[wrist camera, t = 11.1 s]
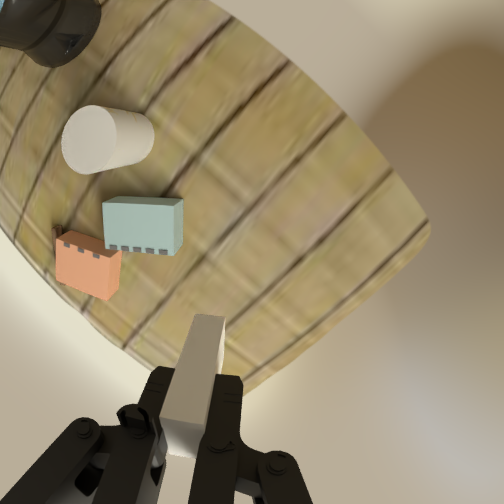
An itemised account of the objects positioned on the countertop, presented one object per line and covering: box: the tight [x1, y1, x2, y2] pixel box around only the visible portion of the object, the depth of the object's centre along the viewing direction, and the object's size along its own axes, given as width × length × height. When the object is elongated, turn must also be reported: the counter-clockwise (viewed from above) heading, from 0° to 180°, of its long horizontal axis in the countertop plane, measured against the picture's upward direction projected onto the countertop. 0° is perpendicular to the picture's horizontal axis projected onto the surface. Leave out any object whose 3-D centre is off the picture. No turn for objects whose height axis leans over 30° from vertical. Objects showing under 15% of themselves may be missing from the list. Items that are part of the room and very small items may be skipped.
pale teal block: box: [102, 196, 183, 256], centre depth 41 cm, size 7×11×5 cm, turn 85°
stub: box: [56, 230, 122, 301], centre depth 44 cm, size 8×11×5 cm
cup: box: [61, 105, 154, 174], centre depth 33 cm, size 8×8×12 cm
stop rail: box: [52, 225, 66, 285], centre depth 45 cm, size 11×1×2 cm, turn 175°
